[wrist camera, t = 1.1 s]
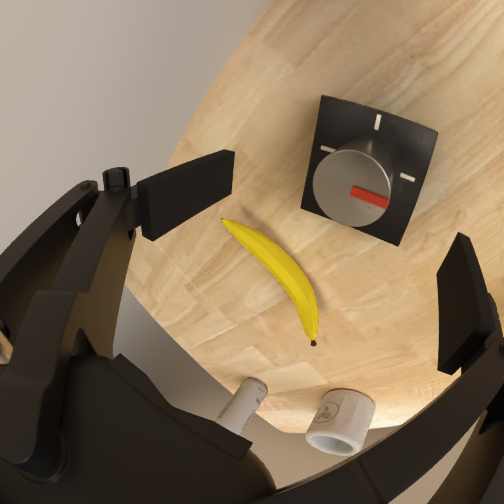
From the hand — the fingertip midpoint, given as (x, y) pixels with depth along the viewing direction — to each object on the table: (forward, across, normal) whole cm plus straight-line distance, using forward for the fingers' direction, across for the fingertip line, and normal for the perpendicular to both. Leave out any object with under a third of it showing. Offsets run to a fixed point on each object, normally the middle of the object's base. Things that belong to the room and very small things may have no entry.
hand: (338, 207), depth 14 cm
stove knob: (+12, 0, 0) cm, 12 cm away
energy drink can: (+15, -6, -52) cm, 54 cm away
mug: (+15, +13, -43) cm, 47 cm away
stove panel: (+14, 0, -1) cm, 15 cm away
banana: (+15, -6, -16) cm, 22 cm away
